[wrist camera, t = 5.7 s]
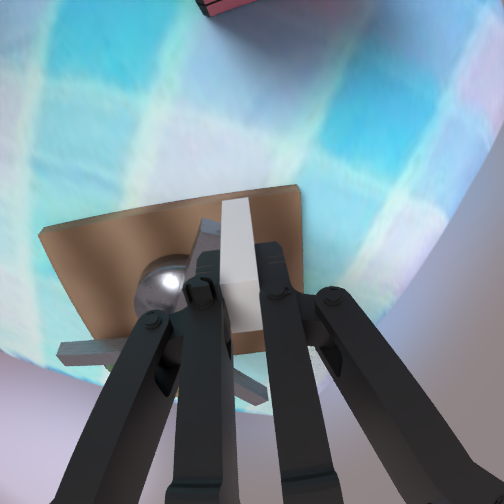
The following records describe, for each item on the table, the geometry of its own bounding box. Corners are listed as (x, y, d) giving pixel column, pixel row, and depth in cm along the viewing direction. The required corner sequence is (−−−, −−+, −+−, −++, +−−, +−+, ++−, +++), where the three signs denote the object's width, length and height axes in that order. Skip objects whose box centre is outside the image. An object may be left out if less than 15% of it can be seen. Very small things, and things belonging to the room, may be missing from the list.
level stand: (112, 354, 31) (105, 384, 28) (44, 227, 22) (22, 255, 19) (301, 336, 31) (308, 367, 28) (296, 184, 22) (309, 210, 19)
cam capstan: (257, 360, 31) (265, 431, 24) (74, 318, 26) (49, 388, 20) (337, 229, 23) (377, 305, 16) (85, 155, 18) (25, 213, 12)
